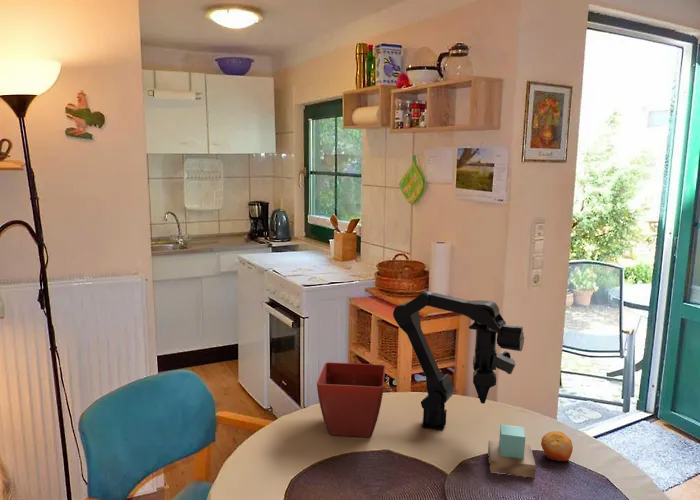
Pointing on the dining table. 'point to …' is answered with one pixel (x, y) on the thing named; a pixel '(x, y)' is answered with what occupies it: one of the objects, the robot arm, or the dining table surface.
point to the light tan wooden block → (511, 461)
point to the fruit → (557, 446)
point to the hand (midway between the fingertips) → (482, 397)
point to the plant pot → (351, 397)
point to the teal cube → (512, 441)
